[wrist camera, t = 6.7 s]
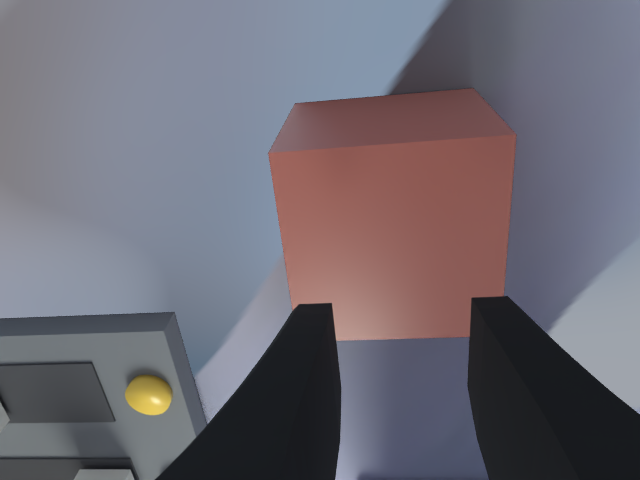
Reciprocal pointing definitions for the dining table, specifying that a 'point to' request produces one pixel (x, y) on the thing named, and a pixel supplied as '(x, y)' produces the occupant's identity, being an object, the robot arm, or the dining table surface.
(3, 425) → the block
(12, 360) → the breaker board
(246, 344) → the dining table surface
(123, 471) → the toggle
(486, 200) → the reddish pink cube
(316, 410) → the robot arm
